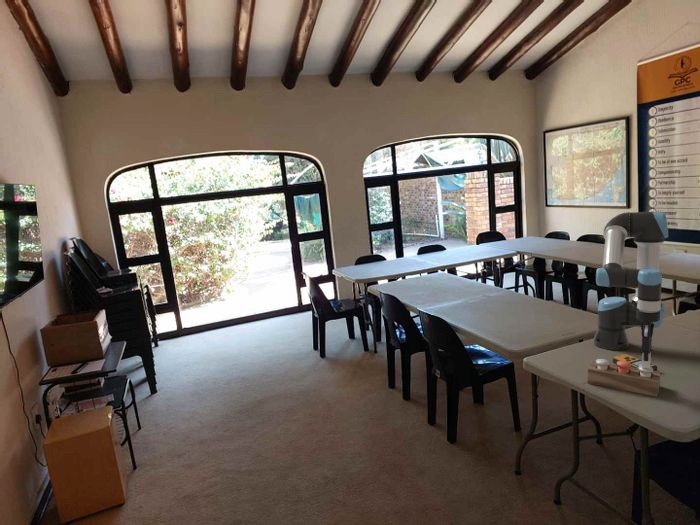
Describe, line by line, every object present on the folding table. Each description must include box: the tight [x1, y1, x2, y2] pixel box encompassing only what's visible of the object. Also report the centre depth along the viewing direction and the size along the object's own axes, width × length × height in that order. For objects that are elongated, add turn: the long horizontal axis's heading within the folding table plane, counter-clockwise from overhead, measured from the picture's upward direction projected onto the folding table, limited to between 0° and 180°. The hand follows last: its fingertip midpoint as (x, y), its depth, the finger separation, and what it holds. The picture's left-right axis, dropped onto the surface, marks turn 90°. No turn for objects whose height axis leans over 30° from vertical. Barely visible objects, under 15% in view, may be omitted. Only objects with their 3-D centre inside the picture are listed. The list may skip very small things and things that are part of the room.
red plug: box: [616, 361, 631, 374], centre depth 185 cm, size 5×5×8 cm
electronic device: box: [612, 353, 658, 371], centre depth 200 cm, size 8×16×3 cm, turn 19°
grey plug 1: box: [595, 358, 610, 370], centre depth 189 cm, size 5×5×8 cm
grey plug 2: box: [639, 366, 653, 378], centre depth 180 cm, size 5×5×8 cm
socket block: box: [587, 360, 661, 397], centre depth 185 cm, size 10×24×6 cm, turn 52°
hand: (645, 367), depth 179 cm, fingers closed
